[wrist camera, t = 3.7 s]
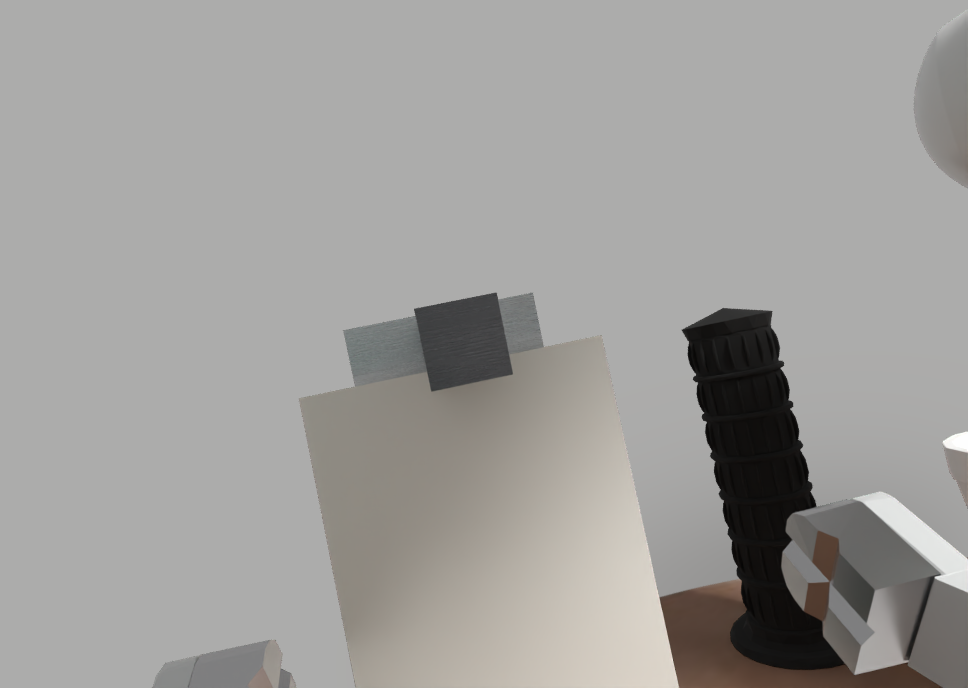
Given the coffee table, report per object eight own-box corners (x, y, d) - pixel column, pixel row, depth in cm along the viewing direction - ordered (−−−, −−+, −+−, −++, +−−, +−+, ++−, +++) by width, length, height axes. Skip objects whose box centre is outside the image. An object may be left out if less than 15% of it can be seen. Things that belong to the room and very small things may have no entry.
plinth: (616, 708, 43) (539, 351, 44) (726, 904, 27) (601, 334, 28) (422, 761, 41) (348, 391, 42) (417, 1001, 25) (299, 398, 26)
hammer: (524, 346, 37) (515, 299, 37) (640, 357, 18) (620, 257, 17) (366, 379, 36) (356, 331, 36) (299, 430, 17) (276, 325, 16)
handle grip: (900, 657, 42) (834, 599, 51) (813, 287, 43) (765, 300, 53) (753, 678, 43) (716, 617, 53) (672, 317, 44) (651, 324, 54)
